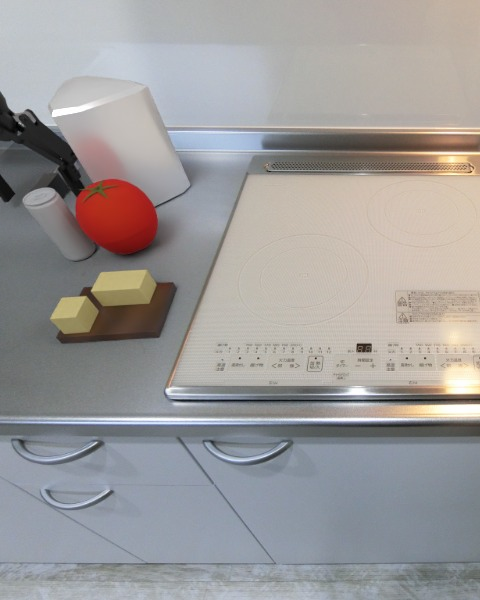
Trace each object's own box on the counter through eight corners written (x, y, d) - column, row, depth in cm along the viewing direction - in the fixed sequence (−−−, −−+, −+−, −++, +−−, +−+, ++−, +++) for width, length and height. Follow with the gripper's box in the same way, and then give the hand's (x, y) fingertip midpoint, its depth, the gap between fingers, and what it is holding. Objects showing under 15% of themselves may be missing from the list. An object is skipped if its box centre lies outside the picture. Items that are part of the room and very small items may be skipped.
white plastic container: (193, 184, 90) (146, 73, 74) (151, 227, 81) (87, 111, 65) (130, 174, 93) (71, 65, 76) (83, 215, 84) (4, 100, 67)
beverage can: (62, 253, 77) (17, 195, 68) (91, 240, 79) (50, 183, 70) (72, 266, 74) (26, 209, 65) (101, 253, 77) (60, 195, 68)
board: (61, 343, 64) (55, 337, 63) (88, 293, 70) (83, 286, 69) (159, 337, 64) (154, 331, 63) (177, 288, 71) (173, 281, 70)
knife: (49, 217, 83) (36, 199, 80) (35, 217, 83) (21, 200, 80) (85, 168, 95) (75, 151, 92) (73, 168, 95) (62, 152, 92)
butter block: (102, 306, 66) (90, 291, 64) (112, 287, 69) (100, 271, 66) (149, 303, 67) (139, 288, 64) (157, 284, 69) (147, 269, 67)
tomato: (146, 219, 83) (112, 158, 73) (181, 240, 79) (150, 179, 69) (89, 252, 77) (44, 190, 67) (124, 277, 73) (81, 215, 63)
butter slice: (64, 334, 63) (49, 319, 60) (75, 312, 66) (61, 297, 63) (89, 332, 63) (75, 317, 61) (99, 311, 66) (86, 295, 63)
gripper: (-137, 97, 66) (-32, 211, 82) (33, 91, 67) (104, 204, 83) (-103, 77, 71) (-10, 188, 87) (55, 71, 72) (118, 182, 88)
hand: (46, 196), depth 85 cm, fingers open, 13 cm apart
